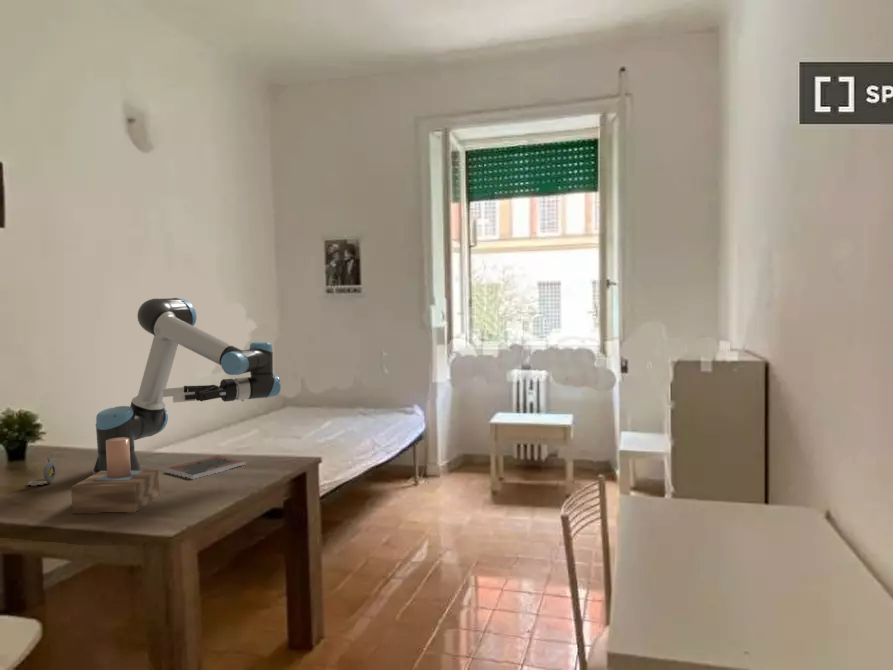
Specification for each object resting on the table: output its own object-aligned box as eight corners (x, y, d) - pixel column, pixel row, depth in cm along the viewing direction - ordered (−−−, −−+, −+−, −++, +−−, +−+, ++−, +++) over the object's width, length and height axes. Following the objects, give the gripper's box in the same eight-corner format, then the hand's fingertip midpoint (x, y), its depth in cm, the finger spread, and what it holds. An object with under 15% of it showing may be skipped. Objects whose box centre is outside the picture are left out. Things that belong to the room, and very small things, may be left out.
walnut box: (102, 495, 206) (100, 469, 206) (159, 494, 207) (158, 468, 206) (72, 513, 189) (71, 485, 189) (135, 512, 190) (134, 484, 189)
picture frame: (193, 481, 223) (245, 467, 241) (192, 474, 223) (245, 460, 241) (165, 474, 233) (218, 461, 250) (165, 467, 233) (218, 454, 250)
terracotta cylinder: (113, 472, 202) (112, 437, 201) (134, 472, 202) (133, 437, 202) (103, 478, 196) (101, 442, 195) (125, 477, 196) (123, 441, 195)
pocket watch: (27, 484, 221) (25, 454, 221) (56, 479, 226) (54, 451, 226) (29, 489, 215) (28, 459, 214) (59, 484, 220) (57, 455, 219)
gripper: (246, 405, 212) (178, 412, 199) (223, 395, 232) (159, 401, 220) (246, 382, 211) (177, 388, 199) (222, 374, 232) (158, 379, 219)
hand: (167, 395), depth 209 cm, fingers open, 13 cm apart
